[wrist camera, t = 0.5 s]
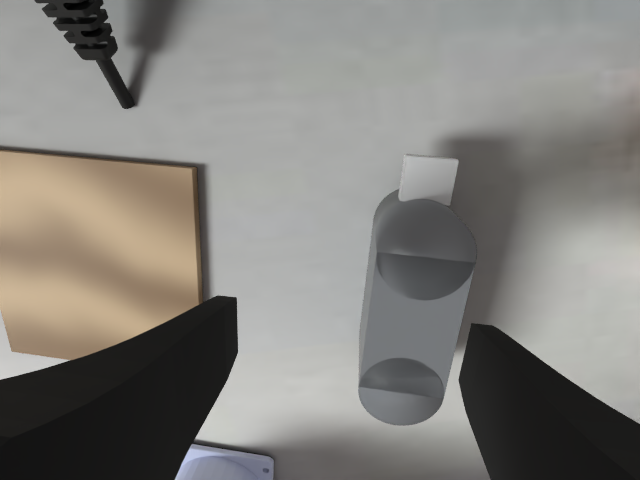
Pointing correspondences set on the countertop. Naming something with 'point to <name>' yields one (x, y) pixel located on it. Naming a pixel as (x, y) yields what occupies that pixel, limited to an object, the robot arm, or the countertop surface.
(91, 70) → the countertop surface
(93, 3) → the power plug
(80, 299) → the oak board
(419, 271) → the grey capsule with tab
